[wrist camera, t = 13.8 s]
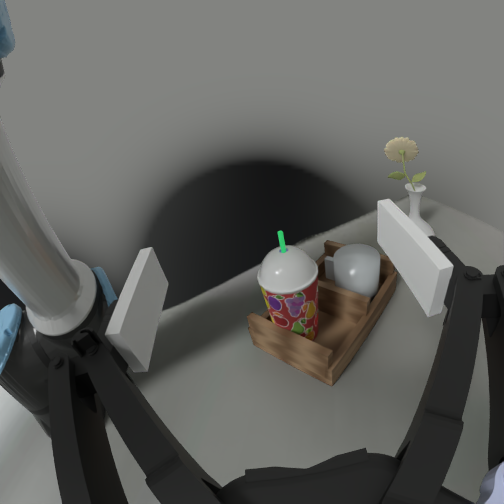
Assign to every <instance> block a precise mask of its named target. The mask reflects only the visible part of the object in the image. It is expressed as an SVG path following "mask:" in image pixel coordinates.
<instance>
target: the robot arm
mask: <svg viewBox="0 0 504 504" xmlns="http://www.w3.org/2000/svg"><path fill="white" fill-rule="evenodd" d="M14 47H15V39H14V34H13V32H12V28H11V22H10V19H9V15H8V11H7V7H6V4H5V0H0V86H1V84H2V82H3V80H4V78H5V73H4V70H3V65H2V60H1V58H4V57H7V55H8V54H9V53H11V52H12V51H13V50H14ZM377 242H378V243H379V245H380V246H381V247H382V249H383V250H384V252H385V253H386V254H387V256H388V257H389V259H390V260H391V261H392V263H393V264H394V266H395V267H396V269H397V270H398V272H399V273H400V275H401V276H402V277H403V279H404V280H405V282H406V283H407V285H408V286H409V288H410V290H411V291H412V293H413V294H414V296H415V297H416V299H417V300H418V302H419V304H420V305H421V307H422V308H423V310H424V312H425V313H426V315H427V316H428V317H430V316H433V315H436V314H439V313H441V311H442V308H443V305H444V304H445V306H446V307H447V308H448V310H447V313H446V316H445V319H444V322H443V325H444V326H443V330H442V334H441V338H440V342H439V345H438V349H437V353H436V356H435V359H434V363H433V366H432V369H431V372H430V375H429V378H428V381H427V384H426V387H425V390H424V393H423V395H422V398H421V401H420V403H419V406H418V409H417V411H416V414H415V416H414V418H413V421H412V423H411V426H410V428H409V430H408V432H407V435H406V437H405V439H404V441H403V443H402V444H401V446H400V448H399V450H398V452H397V454H396V456H395V457H392V456H388V455H385V454H379V453H367V450H366V448H363V449H360V450H356V451H352V452H348V453H345V454H340V455H337V456H335V457H332V458H330V459H328V460H326V461H324V462H322V463H319V464H317V465H315V466H313V467H310V468H307V469H300V468H285V467H267V468H257V469H246V470H245V475H244V476H241V477H239V478H237V479H235V480H233V481H231V482H229V483H228V484H227V485H225V486H224V487H221V486H220V485H219V484H218V483H217V482H216V481H215V480H214V479H213V478H211V477H210V476H209V475H208V474H207V473H206V472H205V471H204V470H203V469H202V468H201V467H200V465H199V464H198V463H197V462H196V461H195V460H194V459H193V458H192V457H191V455H190V454H189V453H188V452H187V451H186V450H185V449H184V447H183V446H182V445H181V444H180V443H179V442H178V440H177V439H176V438H175V437H174V435H173V434H172V433H171V432H170V431H169V429H168V428H167V427H166V426H165V424H164V423H163V422H162V420H161V419H160V418H159V416H158V415H157V414H156V413H155V411H154V410H153V408H152V407H151V406H150V404H149V403H148V402H147V400H146V399H145V397H144V396H143V395H142V393H141V392H140V390H139V389H138V387H137V386H136V385H135V383H134V382H133V380H132V379H131V377H130V376H129V374H128V373H127V368H128V366H129V367H130V368H131V369H132V371H133V372H134V373H135V372H148V368H149V363H150V358H151V354H152V349H153V345H154V340H155V336H156V332H157V327H158V323H159V319H160V315H161V311H162V306H163V303H164V299H165V295H166V291H167V287H168V282H167V279H166V277H165V275H164V273H163V271H162V269H161V266H160V264H159V262H158V260H157V257H156V255H155V253H154V250H153V248H152V247H151V248H146V249H142V250H140V252H139V254H138V257H137V259H136V261H135V263H134V265H133V267H132V270H131V272H130V274H129V276H128V279H127V281H126V283H125V286H124V288H123V291H122V293H121V295H120V297H119V299H117V297H116V295H115V293H114V291H113V289H112V286H111V285H110V282H109V280H108V278H107V276H106V274H105V272H104V271H103V269H102V268H101V267H96V268H91V269H90V268H89V267H88V266H87V265H86V264H84V263H83V262H80V261H78V260H73V259H70V257H69V256H68V254H67V252H66V251H65V249H64V248H63V246H62V245H61V243H60V241H59V239H58V238H57V236H56V234H55V233H54V231H53V229H52V227H51V226H50V224H49V222H48V220H47V219H46V217H45V215H44V213H43V211H42V209H41V208H40V206H39V204H38V202H37V200H36V198H35V196H34V194H33V192H32V190H31V188H30V186H29V184H28V182H27V180H26V178H25V176H24V174H23V171H22V169H21V167H20V165H19V163H18V160H17V158H16V156H15V153H14V151H13V149H12V146H11V144H10V141H9V139H8V136H7V134H6V131H5V129H4V126H3V123H2V120H1V117H0V279H1V280H2V281H3V282H4V283H5V284H6V285H7V286H8V287H9V288H10V289H11V290H12V291H13V293H15V295H16V296H17V297H18V298H19V299H20V300H21V301H22V302H23V303H24V304H25V305H26V310H25V311H22V310H21V308H20V307H19V306H17V305H16V304H11V305H7V306H6V307H5V308H3V309H2V310H1V311H0V385H1V386H2V387H3V388H4V389H5V390H6V391H7V392H8V393H9V394H10V395H12V396H13V397H14V398H15V399H16V400H17V401H18V402H19V403H21V404H22V405H23V406H24V407H25V408H26V409H27V410H29V411H30V412H31V413H32V414H33V415H34V417H35V418H36V420H37V421H38V423H39V424H40V426H41V427H42V429H43V430H44V432H45V433H46V434H47V435H48V436H49V437H50V438H51V439H52V448H53V456H54V463H55V469H56V475H57V480H58V485H59V490H60V495H61V499H62V504H128V501H127V499H126V496H125V493H124V490H123V487H122V484H121V481H120V478H119V475H118V472H117V469H116V466H115V462H114V459H113V455H112V452H111V448H110V444H109V441H108V437H107V433H106V429H105V424H104V420H103V418H104V415H105V409H106V411H107V413H108V415H109V416H110V418H111V420H112V422H113V424H114V425H115V427H116V429H117V431H118V432H119V434H120V436H121V437H122V439H123V441H124V442H125V444H126V446H127V447H128V449H129V450H130V452H131V454H132V455H133V457H134V458H135V460H136V461H137V463H138V464H139V466H140V467H141V469H142V470H143V472H144V473H145V475H146V477H147V478H146V479H145V481H146V484H147V485H148V487H149V488H150V490H151V491H152V492H153V494H154V495H155V496H156V498H157V499H158V500H159V502H160V503H161V504H474V503H473V502H471V501H469V500H467V499H465V498H463V497H461V496H459V495H457V494H456V493H454V492H452V491H450V490H448V489H447V488H445V487H443V486H441V485H442V483H443V481H444V479H445V476H446V474H447V472H448V469H449V467H450V464H451V461H452V459H453V456H454V454H455V451H456V448H457V445H458V442H459V439H460V436H461V433H462V429H463V421H462V415H463V411H464V408H465V404H466V400H467V396H468V392H469V388H470V384H471V379H472V374H473V369H474V364H475V359H476V353H477V347H478V340H479V333H480V324H481V318H482V323H483V329H484V336H485V344H486V352H487V362H488V375H489V395H490V427H489V446H488V467H489V472H488V473H487V474H486V475H485V477H484V479H483V481H482V485H481V486H480V497H479V499H478V501H477V502H476V504H504V265H502V266H499V267H497V269H496V271H495V274H494V275H483V274H482V273H481V271H479V270H478V269H477V268H474V267H471V266H465V265H464V264H463V263H462V262H461V261H460V260H459V258H458V257H457V256H456V255H455V254H454V253H453V252H451V250H450V249H449V248H448V247H447V246H446V245H445V244H444V242H443V241H442V240H440V239H439V238H437V237H435V236H433V235H432V236H428V237H427V236H426V235H425V234H424V233H423V232H422V231H421V230H420V229H419V228H418V227H417V225H416V224H415V223H414V222H413V221H412V220H411V219H410V218H409V217H408V216H407V215H406V214H404V213H403V212H402V211H401V210H400V209H399V208H398V207H397V206H396V205H395V204H394V203H393V202H392V201H391V200H390V199H386V200H380V201H378V234H377Z"/></svg>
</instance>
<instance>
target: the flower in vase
mask: <svg viewBox="0 0 504 504" xmlns="http://www.w3.org/2000/svg"><path fill="white" fill-rule="evenodd" d="M384 152H385V153H386V155H387V156H388V159H390V160H392V161H395V160H396V162H402V163H403V167H404V173H405V174H403V173H400V172H393V173H391V174H390V175H389V176H388V178H393V179H397V180H401V179H403V178H404V177H405V175H406V177H407V179H408V180H409V182H410V183H408V184H406V185H405V188H406V190H407V191H408V193H409V197H410V214H409V216H408V217H409V218H410V219H411V220H412V221H413V222H414V223H415V224H416V225H417V227H418V228H419V229H420V230H421V231H422V232H423V233H424V234H425V235H426V236H427V237H428V236H432V235H433V236H435V233H434V230H433V229H432V227H431V226H430V225H429V224H428V223H427V222H425V221H424V220H423V219H422V218H421V217H420V214H419V206H420V200H421V196H422V194H423V192H424V191H425V190H426V187H425V186H424V185H422V184H419V183H412V182H418V181H421V180H422V179H423V178H424V176H425V174H426V172H423V173H419V174H416V175H414V176H413V178H412V181H410V179H409V178H408V176H407V174H406V172H405V165H404V162H405V161H406V162H408V161H409V160H413V159H415V158H414V157H416V156H417V154H418V153H419V152H418V148H417V147H416V144H415V141H409V138H405V139H404V137H400V138H397V137H396V138H394V140H390V142H388V144H387V145H386V148H385V149H384Z"/></svg>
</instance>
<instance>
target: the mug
mask: <svg viewBox="0 0 504 504" xmlns="http://www.w3.org/2000/svg"><path fill="white" fill-rule="evenodd" d="M324 260H325V271H326V278H328V279H331V280H334V281H335V286H337V287H340V288H343V289H346V290H349V291H352V292H355V293H358V294H360V295H363V296H366V297H369V298H370V304H371V302H372V301H373V299H374V298H375V296H376V295H377V293H378V289H379V274H380V254H379V252H378V251H377V250H376V249H375V248H373V247H371V246H369V245H365V244H349V245H346V246H343V247H341V248H340V249H338V250H337V251H336V252H335V254H334V256H333V257H329V256H327V257H326V258H325V259H324Z"/></svg>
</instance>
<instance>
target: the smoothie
mask: <svg viewBox="0 0 504 504" xmlns="http://www.w3.org/2000/svg"><path fill="white" fill-rule="evenodd" d="M278 236H279V242H280V247H277V248H275V249H273V250H272V251H271V252H269V253H268V254H267V256H266V257H265V259H264V260H263V262H262V264H261V268H260V270H259V271H258V275H257V279H258V282H259V285H260V287H261V290H262V293H263V296H264V299H265V302H266V305H267V308H268V311H269V314H270V316H271V319H272V322H273V323H275V324H276V325H277V326H278V327H281V328H283V329H287V330H289V331H292V332H294V333H296V334H298V335H300V336H302V337H304V338H306V339H309V340H311V341H314V339H315V338H316V336H317V334H318V266H317V264H316V263H315V261H314V260H312V259H311V258H310V256H309V255H308V254H307V253H306V252H305V251H303V250H302V249H300V248H298V247H295V246H288V245H286V246H285V242H284V236H283V232H282V231H278Z"/></svg>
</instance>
